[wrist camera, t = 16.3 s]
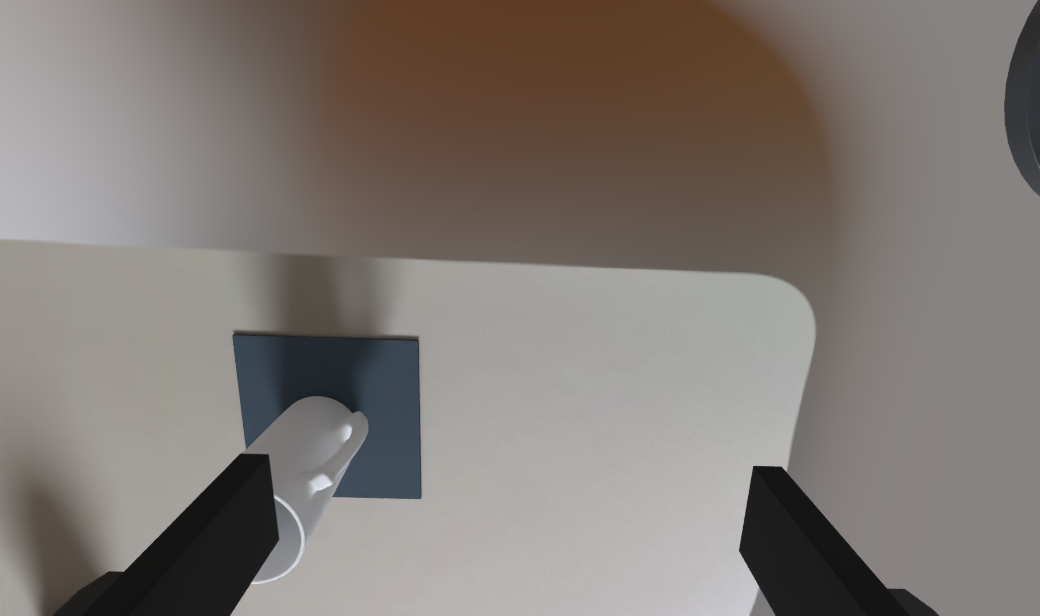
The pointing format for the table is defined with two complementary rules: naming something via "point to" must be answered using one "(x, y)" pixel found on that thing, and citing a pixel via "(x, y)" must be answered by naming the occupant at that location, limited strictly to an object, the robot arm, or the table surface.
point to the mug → (305, 471)
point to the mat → (341, 400)
